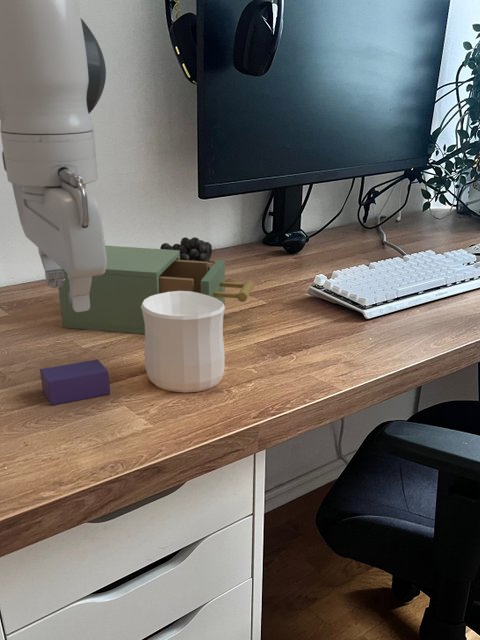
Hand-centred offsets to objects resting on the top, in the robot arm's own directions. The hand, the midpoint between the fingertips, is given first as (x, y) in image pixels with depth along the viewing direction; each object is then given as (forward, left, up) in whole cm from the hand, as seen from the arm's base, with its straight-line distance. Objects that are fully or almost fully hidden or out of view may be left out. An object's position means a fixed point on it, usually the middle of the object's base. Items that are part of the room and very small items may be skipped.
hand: (67, 297), depth 76 cm
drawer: (+7, +27, -11) cm, 30 cm away
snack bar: (0, 0, -12) cm, 12 cm away
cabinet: (-3, +27, -12) cm, 30 cm away
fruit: (0, +44, -12) cm, 46 cm away
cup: (+11, +7, -12) cm, 18 cm away
